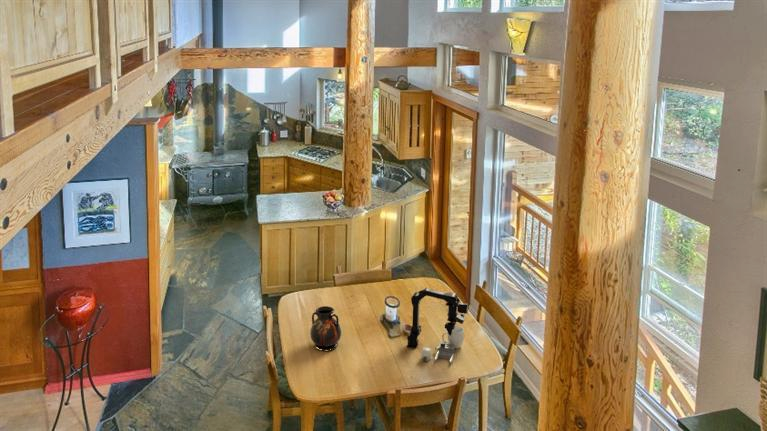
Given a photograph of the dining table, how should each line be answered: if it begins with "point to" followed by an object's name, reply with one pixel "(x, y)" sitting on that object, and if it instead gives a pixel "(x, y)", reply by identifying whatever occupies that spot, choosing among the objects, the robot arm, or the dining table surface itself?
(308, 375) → the dining table surface
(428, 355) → the light bulb
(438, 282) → the dining table surface
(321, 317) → the amphora vase
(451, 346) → the u-shaped channel
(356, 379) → the dining table surface
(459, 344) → the mug
